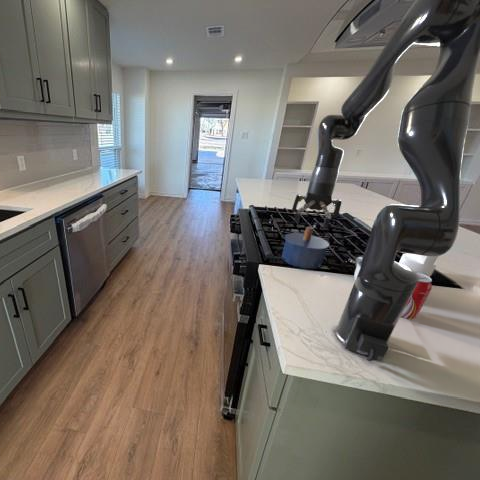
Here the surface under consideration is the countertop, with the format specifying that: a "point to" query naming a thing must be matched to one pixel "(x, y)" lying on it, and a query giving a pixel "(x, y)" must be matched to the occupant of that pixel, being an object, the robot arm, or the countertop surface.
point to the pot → (302, 256)
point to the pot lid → (307, 240)
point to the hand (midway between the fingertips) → (310, 225)
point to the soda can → (418, 296)
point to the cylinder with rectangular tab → (419, 263)
